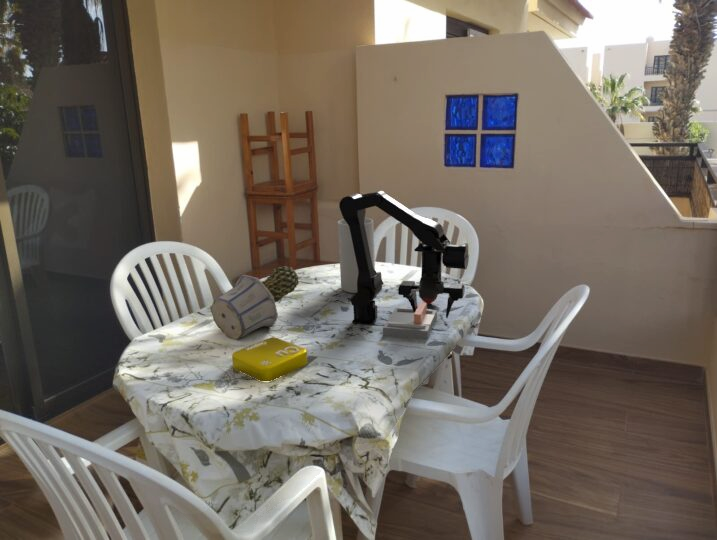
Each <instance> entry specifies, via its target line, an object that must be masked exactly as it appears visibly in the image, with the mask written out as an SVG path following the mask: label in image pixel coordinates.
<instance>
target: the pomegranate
mask: <svg viewBox="0 0 717 540" xmlns="http://www.w3.org/2000/svg"><path fill="white" fill-rule="evenodd" d="M437 297H438V294H437V295H436V298H435V299H430V298H420V299H421V300H422V302H423V303H427V305H431V304H432V303H433V302H435V301H436V300H437Z"/></svg>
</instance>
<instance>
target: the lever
mask: <svg viewBox="0 0 717 540" xmlns="http://www.w3.org/2000/svg"><path fill="white" fill-rule="evenodd" d="M427 307H428V304H427V303H425V302H420V303H419V304H418V305H417V309H416V311H415V313H414V323H415V324H421V323H422V321H423V319H424V316H425V314H426V312H427V309H428V308H427Z"/></svg>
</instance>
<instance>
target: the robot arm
mask: <svg viewBox="0 0 717 540" xmlns="http://www.w3.org/2000/svg"><path fill="white" fill-rule="evenodd" d="M338 207H339V208H338V209H339V211H340V213H341V216H342V218H343V219H344V220H345V221H346V223H347V224H348V226H349V229H350V234H351V238H352V243H353V248H354V253H355V257H356V262H357V267H358V278H357V293H354V295H353V296H351V297H350V299H349V300H350V303H351V305H352V306H353V319H352V321H351V322H352V323H353V324H362V325H373V324H374V322H375V321H376V320H377V319H378V305H377V304H376V300H375V299H376V298H377V296H378V295H379V294H380V293H381V291H382V289H383V285H384V284H385V283H384V282H383V277H382V272H381V271H379V272H377V270H376V269H375V270H374V268H373V264H372V259H371V255H370V250H369V245H368V240H367V235H366V230H365V225H364V219H365V218H366V213H367V212H366V210H367V209H370V208H373V207H377V208H378V209H380V210H381V211H382V212H384V213H386V214H387V215H388V216H390V217H391V218H393V219H394V220H396V221H397V222H399V223H400V224H402V225H403V226H405V227H407V228H408V229H409V230H410V231H411V232H412V234H413V235H414V237H415V238H417V240H419V242H420V243H418V246H416V247H415V248H414V252H418V253H419V252H420V253H421V275H420V276H421V277H420V280H419V284H416V282H415V280H403V281H401V282H400V284H399V286H398V289H397V291H398V292H397V294H398V295H399V296H402V298H406V299H407V301H408V302H409V304H410V305H411V308H412V309H413V312H414V313H415V311H416V309H417V308H418V300H417V292H418V297H419V298H420V299H421V298H430V299H435V298H436V295H437V294H438V295H443V294H448V297H447V304H446V305H447V306H446V309H445V310H446V312H445V319H448V317H449V315H450V311H451V309H452V307H453V304H454V303H455V301H456V302H458V301H459V300H460V299H463V298H464V295H465V291H466V290H465V289H466V288H465V287H466V286H465V285H464V283H456V282H455V283H450V285H449V286H445V284H444V281H442V265H443V266H444V267H445V268H446V269H457V270H458V269H459V270H460V269H461V270H467V269H468V266H469V259H470V258H469V256H470V255H469V251H468V246H467V245H468V244H452V243H451V241H450V240H449V238H448V237H447V236H446V234H445V233H444V226H442V224H441V223H440V222H437V221H434V220H432V219H430V218H427V217H424V216H420V215H418V214H417V213H416V212H413V211H412V210H411V209H409V208H408V207H406V206H405V205H403V204H402V203H400V202H398V201H397V200H395V199H394V198H393V197H391V196H389V195H388V194H387V193H386V192H385V191H383V190H377V191H373V192H368V193H364V194H360V193H358V192H357V193H356V192H355V193H351V194H348V195H346V196H343V197H342V198H341V200H340V201H339V204H338ZM438 295H437V296H438ZM436 299H437V298H436Z"/></svg>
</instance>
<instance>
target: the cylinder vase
mask: <svg viewBox="0 0 717 540" xmlns="http://www.w3.org/2000/svg"><path fill="white" fill-rule="evenodd" d="M364 225H365V230H366V235H367V240H368V245H369V250H370V255H371V259H372V264H373V268H374V270H375V271H376V267H375V266H376V265H375V262H376V261H375V235H374V232H375V231H374V219H371V218H369V217H365V219H364ZM337 227H338V228H337V229H338V231H337V232H338V248H339V252H338V253H339V269H340V270H339V271H340V288H341V290H342V291H343V292H346V293H349V294H356V293H357V278H358V267H357V262H356V257H355V253H354V248H353V243H352V238H351V234H350V229H349V226H348V224H347V223H346V221H345V220H344V219H340V220H338V221H337Z"/></svg>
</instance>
